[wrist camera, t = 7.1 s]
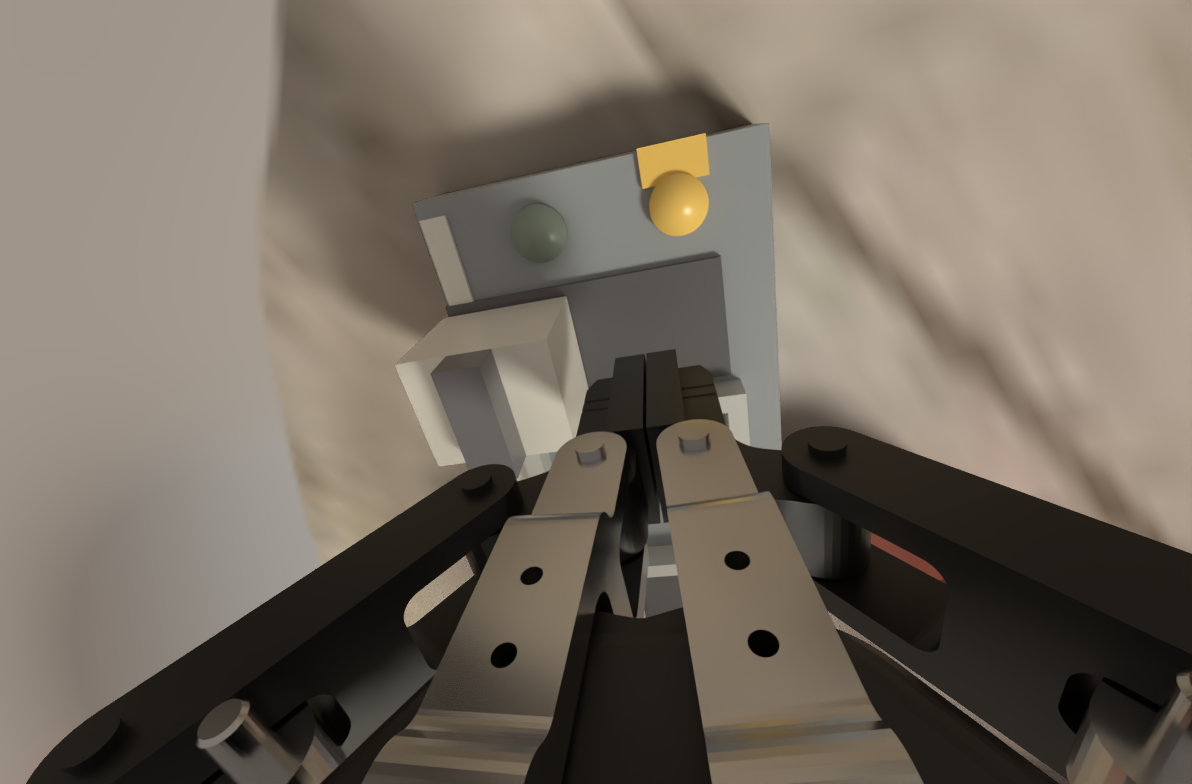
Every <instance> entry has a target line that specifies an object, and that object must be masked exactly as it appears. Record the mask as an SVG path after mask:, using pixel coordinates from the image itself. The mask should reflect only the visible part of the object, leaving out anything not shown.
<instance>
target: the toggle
mask: <svg viewBox="0 0 1192 784" xmlns="http://www.w3.org/2000/svg"><path fill="white" fill-rule="evenodd" d="M395 367H396V369H397V372H398V374H399V376H400V379H401V381H402V383H403V386H404V388H405V390H406V393H407V395H408V397H409V400H410V402H411V404H412V406H413V409H414V411H415V413H416V416H417V418H418V420H419V423H420V425H421V427H422V430H423V432H424V434H425V437H426V439H427V441H428V443H429V446H430V448H431V450H432V453H433V455H434V457H435V460H436V462H437V464H438V466H446V465H454V464H462V463H466V465H467V467H468V470H470V469H473V468H476V467H479V466H483V465H488V464H501V465H505V466H508V467H510V468H511V469H512V470H513V471H514V473H515V476H516V479H517V478H518V477H519V474H520V471H521V469H522V466H523V463H524V460H525V457H526V455H534V454H542V453H550V452H557V451H558V450H559V449H560V447H561V446H563V445H564V444H565V443H566V442H568V441H569V440H571V439H573V438H575V437H576V434H577V430H578V426H579V422H580V417H581V413H582V409H583V405H584V404H585V403H584V400H585V396H586V392H587V390H588V389H589V388H588V384H587V380H586V376H585V372H584V368H583V363H582V359H581V355H580V351H579V347H578V343H577V338H576V334H575V330H574V326H573V322H572V317H571V313H570V309H569V305H568V301H567V297H566V296H564V297H558V298H553V299H547V300H541V301H536V302H530V303H525V304H519V305H514V306H508V307H503V308H497V309H491V310H486V311H480V312H475V313H469V314H464V315H458V316H452V317H447V318H444V319H442V320H441V321H440V322H439V323H438V324H437V325H436V326H435V327H434V328H433V329H432V330H431V331H430V332H429V333H428V334H427V335H425V336H424V337H423V338H422V339H421V340H420V341H419V342H418V343H417V344H416V345H415V346H414V347H413V348H412V349H411V350H410V351H408V352H407V353H406V354H405V355H404V356H403V357H402V358H401V359H400V360H399V361H398V362H397V363H396V364H395Z"/></svg>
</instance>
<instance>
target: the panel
mask: <svg viewBox="0 0 1192 784" xmlns="http://www.w3.org/2000/svg"><path fill="white" fill-rule="evenodd" d="M412 207H413V209H414V212H415V215H416V218H417V221H418V224H419V226H420V229H421V232H422V235H423V238H424V240H425V243H426V246H427V249H428V252H429V254H430V257H431V260H432V263H433V266H434V268H435V271H436V274H437V277H438V280H439V282H440V285H441V288H442V291H443V294H444V297H445V299H446V302H447V306H446V307H445V308H446V310H447V313H448V316H449V317H452V316H458V315H464V314H469V313H475V312H480V311H486V310H491V309H497V308H503V307H508V306H514V305H519V304H525V303H530V302H536V301H541V300H547V299H553V298H558V297H564V296H566V297H567V301H568V305H569V309H570V313H571V317H572V322H573V326H574V330H575V334H576V338H577V343H578V347H579V351H580V355H581V359H582V363H583V368H584V372H585V376H586V380H587V384H588V388H590V387H591V386H592V385H593V384H594V383H595V382H596V381H597V380H599V379H606V378H612V377H613V370H614V363H615V358H619V357H626V356H632V355H639V354H645V358H646V354H647V353H651V352H658V351H665V350H671V349H676V355H677V362H678V368H681V367H688V366H695V365H701V366H702V367H704V368H705V369H707V370H708V371H710V372H711V373H712V377H713V380H714V385H715V388H716V391H717V395H718V399H719V402H720V406H721V410H722V413H723V417H724V421H725V425H726V426H727V427H728V428H729V429H730V430H731V432H732V433H733V436H734V438H735V439H736V440H737V441H739V442H741V443H743V444H746V445H749V446H752V447H757V448H763V449H774V450H781V448H782V440H781V414H780V389H779V363H778V338H777V312H776V287H775V261H774V236H773V210H772V185H771V159H770V134H769V123H760V124H751V125H746V126H742V127H738V128H733V129H729V130H724V131H720V132H715V133H711V134H707V135H706V133H703V134H698V135H694V136H690V137H685V138H681V139H676V140H672V141H668V142H663V143H659V144H654V145H650V146H645V147H641V148H637V150H636V151H631V152H627V153H623V154H618V155H614V156H609V157H605V158H601V159H596V160H592V161H587V162H583V163H578V164H574V165H570V166H565V167H561V168H556V169H552V170H548V171H543V172H539V173H534V174H530V175H525V176H521V177H517V178H512V179H508V180H503V181H499V182H494V183H490V184H486V185H481V186H477V187H472V188H468V189H464V190H459V191H455V192H450V193H446V194H441V195H437V196H434V197H431V198H427V199H424V200H421V201H418V202H415V203H412ZM556 453H557V452H550V453H542V454H534V455H526V457H525V460H524V463H523V466H522V469H521V471H520V474H519V477H518V478H517V481H520V480H524V479H527V478H530V477H533V476H536V475H539V474H542V473H545V472H547V471H549V470H550V468H551V465H552V463H553V460H554V458H555V456H556ZM660 521H661V523H659V524H648V540H647V545H648V550H649V564H648V575H647V586H646V597H645V608H644V611H645V615H646V617H651V616H654V615H657V614H661V613H664V612H668V611H671V610H675V609H678V608H681V607H683V603H682V597H681V591H680V585H679V579H678V573H677V567H676V561H675V555H674V549H673V543H672V537H671V531H670V525H669V523H664V521H663V516H662V510H661V505H660Z"/></svg>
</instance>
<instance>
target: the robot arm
mask: <svg viewBox="0 0 1192 784" xmlns="http://www.w3.org/2000/svg"><path fill="white" fill-rule="evenodd" d="M584 403H585V404H584V405H583V409H582V413H581V417H580V422H579V426H578V430H577V434H576V437H575V438H573V439H571V440H569V441H568V442H566V443H565V444H564V445H563V446H561V447H560V449H559V450H558V451H557V453H556V456H555V458H554V460H553V463H552V465H551V468H550V470H549V471H547V472H545V473H542V474H539V475H536V476H533V477H530V478H527V479H524V480H520V481H517V479H516V476H515V473H514V471H513V470H512V469H511V468H510V467H508V466H505V465H501V464H488V465H483V466H479V467H476V468H473V469H470V470H468V471H466V472H464V473H463V474H461V475H459V476H458V477H456V478H455V479H453V480H451V481H450V482H448V483H447V484H445V485H444V486H442V487H441V488H439V489H438V490H436V491H435V492H433V493H432V494H430V495H429V496H427V497H425V498H424V499H422V500H421V501H419V502H418V503H416V504H415V505H413V506H412V507H410V508H409V509H407V510H406V511H404V512H403V513H401V514H400V515H398V516H396V517H395V518H393V519H392V520H390V521H389V522H387V523H386V524H384V525H383V526H381V527H380V528H378V529H377V530H375V531H374V532H372V533H370V534H369V535H367V536H366V537H364V538H363V539H361V540H360V541H358V542H357V543H355V544H354V545H352V546H351V547H349V548H348V549H346V550H345V551H343V552H341V553H340V554H338V555H337V556H335V557H334V558H332V559H331V560H329V561H328V562H326V563H325V564H323V565H322V566H320V567H319V568H317V569H315V570H314V571H312V572H311V573H309V574H308V575H306V576H305V577H303V578H302V579H300V580H299V581H297V582H296V583H294V584H293V585H291V586H290V587H288V588H286V589H285V590H283V591H282V592H280V593H279V594H277V595H276V596H274V597H273V598H271V599H270V600H268V601H267V602H265V603H264V604H262V605H260V606H259V607H257V608H256V609H254V610H253V611H251V612H250V613H248V614H247V615H245V616H244V617H242V618H241V619H239V620H238V621H236V622H235V623H233V624H231V625H230V626H228V627H227V628H225V629H224V630H222V631H221V632H219V633H218V634H216V635H215V636H213V637H212V638H210V639H209V640H207V641H206V642H204V643H203V644H201V645H200V646H198V647H196V648H195V649H193V650H192V651H190V652H189V653H187V654H186V655H184V656H183V657H181V658H180V659H178V660H176V661H175V662H174V663H172V664H170V665H169V666H168V667H166V668H164V669H163V670H161V671H160V672H158V673H157V674H155V675H154V676H152V677H151V678H149V679H147V680H146V681H144V682H143V683H141V684H140V685H138V686H137V687H135V688H134V689H132V690H131V691H129V692H128V693H126V694H125V695H123V696H122V697H120V698H118V699H117V700H115V701H114V702H113V703H111V704H109V705H108V706H106V707H105V708H103V709H102V710H100V711H99V712H97V713H96V714H94V715H93V716H91V717H90V718H88V719H87V720H86V721H84V722H83V723H82V724H81V725H79V726H78V727H77V728H75V729H74V730H73V731H72V732H71V733H70V734H68V735H67V736H66V737H65V738H64V739H63V740H62V741H61V742H60V743H59V744H58V745H57V746H56V747H55V748H53V750H52V751H51V752H50V753H49V754H48V755H47V756H46V757H45V758H44V759H43V761H42V762H41V763H40V764H39V766H38V767H37V768H36V769H35V771H34V772H33V774H32V775H31V777H30V778H29V780H28V781H27V783H26V784H1059V783H1057V782H1056V781H1055V780H1053V779H1052V778H1051V777H1049V776H1048V775H1047V774H1045V773H1044V772H1043V771H1041V770H1040V769H1039V768H1037V767H1036V766H1035V765H1033V764H1032V763H1031V762H1029V761H1028V760H1027V759H1025V758H1024V757H1023V756H1021V755H1020V754H1019V753H1017V752H1016V751H1015V750H1013V749H1012V748H1011V747H1009V746H1008V745H1007V744H1005V743H1004V742H1003V741H1001V740H1000V739H999V738H997V737H996V736H995V735H993V734H992V733H991V732H989V731H988V730H986V729H985V728H984V727H982V726H981V725H980V724H978V723H977V722H976V721H974V720H973V719H972V718H970V717H969V716H968V715H966V714H965V713H964V712H962V711H961V710H960V709H958V708H957V707H956V706H954V705H953V704H952V703H950V702H949V701H948V700H946V699H945V698H944V697H942V696H941V695H940V694H938V693H937V692H936V691H934V690H933V689H932V688H930V687H929V686H928V685H926V684H925V683H924V682H922V681H921V680H920V679H918V678H917V677H916V676H914V675H913V674H912V673H910V672H909V671H908V670H906V669H905V668H904V667H902V666H901V665H900V664H898V663H897V662H895V661H894V660H893V659H891V658H890V657H888V656H887V655H886V654H884V653H882V652H881V651H879V650H877V649H876V648H874V647H872V646H871V645H869V644H867V643H866V642H864V641H862V640H860V639H858V638H856V637H854V636H852V635H850V634H848V633H846V632H843V631H840V630H838V629H836V628H835V626H834V624H833V622H832V620H831V618H830V616H829V613H828V611H829V612H830V613H832V614H833V615H834V616H836V617H837V618H839V619H840V620H842V621H843V622H844V623H846V624H847V625H849V626H850V627H851V628H853V629H854V630H856V631H857V632H859V633H860V634H861V635H863V636H864V637H866V638H867V639H869V640H870V641H871V642H873V643H874V644H876V645H877V646H878V647H880V648H881V649H883V650H884V651H886V652H887V653H888V654H890V655H891V656H893V657H894V658H896V659H897V660H898V661H900V662H901V663H903V664H904V665H905V666H907V667H908V668H910V669H911V670H913V671H914V672H915V673H917V674H918V675H920V676H921V677H923V678H924V679H925V680H927V681H928V682H930V683H931V684H932V685H934V686H935V687H937V688H938V689H940V690H941V691H942V692H944V693H945V694H947V695H948V696H950V697H951V698H952V699H954V700H955V701H957V702H958V703H959V704H961V705H962V706H964V707H965V708H967V709H968V710H969V711H971V712H972V713H974V714H975V715H977V716H978V717H979V718H981V719H982V720H984V721H985V722H986V723H988V724H989V725H991V726H992V727H994V728H995V729H996V730H998V731H999V732H1001V733H1002V734H1004V735H1005V736H1006V737H1008V738H1009V739H1011V740H1012V741H1013V742H1015V743H1016V744H1018V745H1019V746H1021V747H1022V748H1023V749H1025V750H1026V751H1028V752H1029V753H1031V754H1032V755H1033V756H1035V757H1036V758H1038V759H1039V760H1040V761H1042V762H1043V763H1045V764H1046V765H1048V766H1049V767H1050V768H1052V769H1053V770H1055V771H1056V772H1058V773H1059V774H1060V775H1062V776H1063V777H1065V778H1066V779H1067V780H1068V781H1069V784H1192V554H1191V553H1188V552H1185V551H1183V550H1180V549H1177V548H1174V547H1171V546H1169V545H1166V544H1163V543H1160V542H1158V541H1155V540H1152V539H1149V538H1147V537H1144V536H1141V535H1138V534H1136V533H1133V532H1130V531H1127V530H1125V529H1122V528H1119V527H1116V526H1113V525H1111V524H1108V523H1105V522H1102V521H1100V520H1097V519H1094V518H1091V517H1089V516H1086V515H1083V514H1080V513H1078V512H1075V511H1072V510H1069V509H1067V508H1064V507H1061V506H1058V505H1056V504H1053V503H1050V502H1047V501H1044V500H1042V499H1039V498H1036V497H1033V496H1031V495H1028V494H1025V493H1022V492H1020V491H1017V490H1014V489H1011V488H1009V487H1006V486H1003V485H1000V484H998V483H995V482H992V481H989V480H987V479H984V478H981V477H978V476H975V475H973V474H970V473H967V472H964V471H962V470H959V469H956V468H953V467H951V466H948V465H945V464H942V463H940V462H937V461H934V460H931V459H929V458H926V457H923V456H920V455H917V454H915V453H912V452H909V451H906V450H904V449H901V448H898V447H895V446H893V445H890V444H887V443H884V442H882V441H879V440H876V439H873V438H871V437H868V436H865V435H862V434H860V433H857V432H854V431H851V430H848V429H843V428H839V427H827V426H821V427H811V428H806V429H802V430H799V431H797V432H794V433H793V434H791V435H789V436H788V437H787V438H786V439H785V440H784V442H783V444H782V448H781V450H774V449H763V448H757V447H752V446H749V445H746V444H743V443H741V442H739V441H737V440H736V439H735V438H734V436H733V433H732V432H731V430H730V429H729V428H728V427H727V426H726V425H725V421H724V417H723V413H722V410H721V406H720V402H719V399H718V395H717V391H716V388H715V385H714V380H713V377H712V373H711V372H710V371H708V370H707V369H705V368H704V367H702V366H701V365H695V366H688V367H681V368H678V362H677V355H676V349H671V350H665V351H658V352H651V353H647V354H646V358H645V354H639V355H632V356H626V357H619V358H615V363H614V370H613V377H612V378H606V379H599V380H597V381H596V382H595V383H594V384H593V385H592V386H591V387H590V388H589V389H588V390H587V392H586V396H585V400H584ZM660 505H661V510H662V516H663V521H664V523H669V525H670V531H671V537H672V543H673V549H674V555H675V561H676V567H677V573H678V579H679V585H680V591H681V597H682V603H683V607H681V608H678V609H675V610H671V611H668V612H664V613H661V614H657V615H654V616H651V617H646V618H644V608H645V597H646V586H647V575H648V564H649V550H648V545H647V540H648V524H659V523H661V521H660ZM871 533H873V534H875V535H877V536H879V537H881V538H883V539H885V540H887V541H889V542H891V543H893V544H894V545H896V546H898V547H900V548H902V549H904V550H906V551H908V552H910V553H912V554H914V555H916V556H918V557H919V558H921V559H923V560H925V561H926V562H928V563H929V564H930V565H932V566H933V567H934V568H935V569H936V570H937V571H938V572H939V573H940V575H941V576H942V577H943V579H944V580H945V582H946V584H945V583H943V582H941V581H939V580H938V579H936V578H934V577H932V576H930V575H928V574H926V573H925V572H923V571H921V570H919V569H917V568H915V567H913V566H912V565H910V564H908V563H906V562H904V561H902V560H900V559H899V558H897V557H895V556H893V555H891V554H889V553H888V552H886V551H884V550H882V549H880V548H878V547H876V546H875V545H873V544H871ZM465 555H466V557H467V560H468V562H469V564H470V566H471V569H472V571H473V573H474V576H473V577H472V578H470V579H469V580H468V581H467V582H465V583H464V584H463V585H462V586H460V587H459V588H458V589H457V590H456V591H454V592H453V593H452V594H451V595H449V596H448V597H447V598H446V599H445V600H443V601H442V602H441V603H440V604H438V605H437V606H436V607H435V608H434V609H432V610H431V611H430V612H429V613H427V614H426V615H425V616H424V617H422V618H421V619H420V620H419V621H418V622H416V623H415V624H413V625H412V626H409V627H406V625H405V622H404V612H405V609H406V606H407V604H408V602H409V601H410V600H411V598H412V597H413V596H414V595H415V594H416V593H417V592H419V591H420V590H421V589H422V588H424V587H425V586H426V585H428V584H429V583H430V582H431V581H433V580H434V579H435V578H437V577H438V576H439V575H440V574H442V573H443V572H444V571H446V570H447V569H448V568H450V567H451V566H452V565H453V564H455V563H456V562H457V561H459V560H460V559H461V558H462V557H464V556H465Z"/></svg>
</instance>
